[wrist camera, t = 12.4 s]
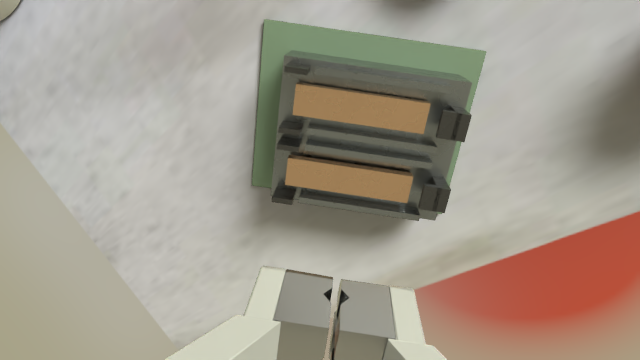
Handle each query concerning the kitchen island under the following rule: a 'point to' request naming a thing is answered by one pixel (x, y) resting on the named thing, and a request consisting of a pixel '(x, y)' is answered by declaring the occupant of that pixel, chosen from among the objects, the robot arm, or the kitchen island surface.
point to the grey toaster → (372, 133)
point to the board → (346, 45)
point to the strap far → (348, 178)
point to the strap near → (360, 108)
